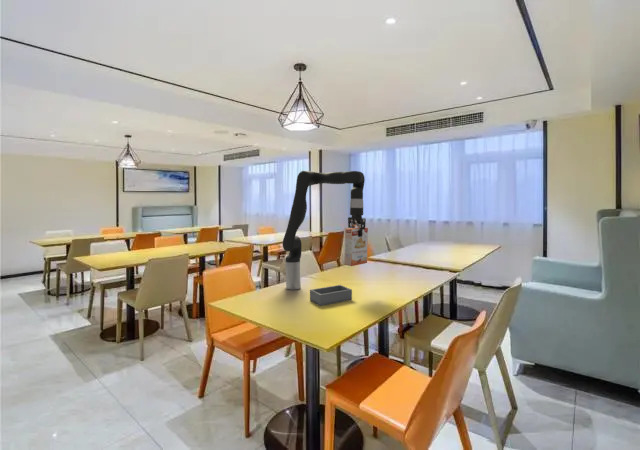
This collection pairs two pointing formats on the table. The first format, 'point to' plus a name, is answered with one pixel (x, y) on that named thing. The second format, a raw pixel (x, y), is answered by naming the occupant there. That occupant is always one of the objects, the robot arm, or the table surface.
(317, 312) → the table surface
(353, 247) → the cracker box
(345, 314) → the table surface
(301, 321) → the table surface
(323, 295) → the bin
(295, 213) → the robot arm
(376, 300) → the table surface
